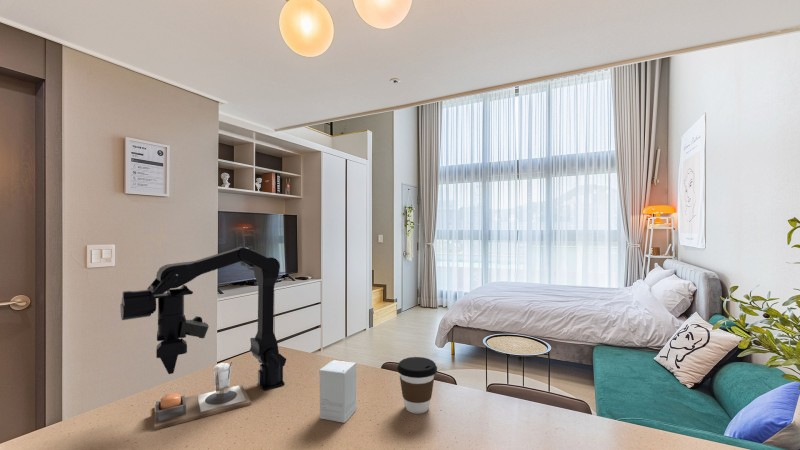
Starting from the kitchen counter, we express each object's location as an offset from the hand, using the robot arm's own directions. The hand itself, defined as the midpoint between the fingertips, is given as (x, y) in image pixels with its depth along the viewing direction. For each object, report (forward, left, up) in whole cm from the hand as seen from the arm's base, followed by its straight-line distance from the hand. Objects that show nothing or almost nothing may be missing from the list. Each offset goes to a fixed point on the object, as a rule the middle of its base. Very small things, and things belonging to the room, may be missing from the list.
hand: (171, 373), depth 92 cm
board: (-7, -1, -11) cm, 13 cm away
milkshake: (-12, -1, -10) cm, 16 cm away
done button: (0, 0, -9) cm, 9 cm away
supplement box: (-36, +24, -11) cm, 45 cm away
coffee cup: (-55, +33, -11) cm, 65 cm away
